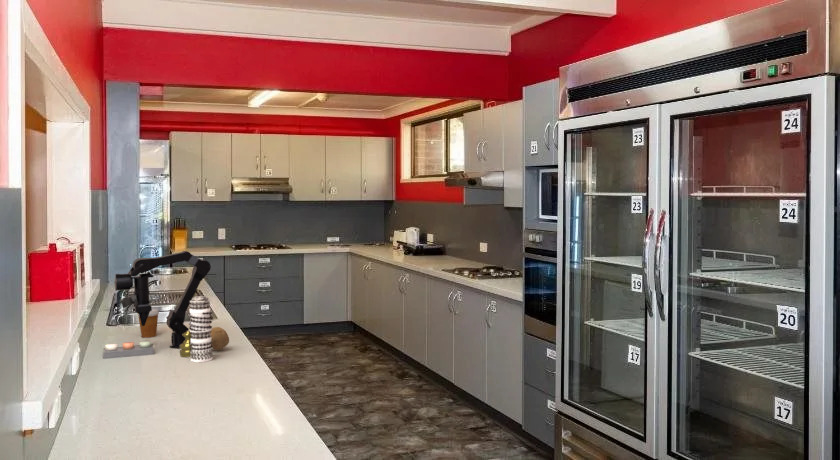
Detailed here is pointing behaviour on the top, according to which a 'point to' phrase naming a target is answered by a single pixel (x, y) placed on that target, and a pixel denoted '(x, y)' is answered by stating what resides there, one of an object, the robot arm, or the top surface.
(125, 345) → the terracotta button
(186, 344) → the gold metal figurine
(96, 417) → the top surface
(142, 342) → the sage button
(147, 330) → the disposable coffee cup
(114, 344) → the cream button
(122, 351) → the button panel
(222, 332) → the brown rounded lump
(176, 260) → the robot arm
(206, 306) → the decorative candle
